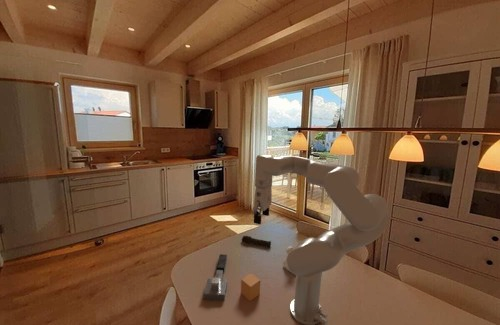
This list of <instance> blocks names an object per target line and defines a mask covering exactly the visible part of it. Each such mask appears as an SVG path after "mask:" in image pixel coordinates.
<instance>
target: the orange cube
mask: <svg viewBox="0 0 500 325" xmlns="http://www.w3.org/2000/svg"><path fill="white" fill-rule="evenodd" d="M240 283H241V284H240V294H241V295H242V296H244V297H245V298H246V299H247V300H248V301H249V302H251V301H253V300H254V299H255V298H256V297H257V296H259V295H260V294H261V279H260V278H259V277H257V276H256V275H255V274H253V273H249V274H247V275H245V277H243V278H241V281H240Z"/></svg>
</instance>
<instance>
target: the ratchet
mask: <svg viewBox="0 0 500 325" xmlns="http://www.w3.org/2000/svg"><path fill="white" fill-rule="evenodd" d="M227 259H228V255H227V254H222V253H221V254H219V256H218V259H217V263H216V270H215V271H216V273H215V276H214V277H211V278H207V279H206V280H207V281H206V283H205V288H204V291H203V294H202V295H203V301H218V302H219V301H222V302H223V301H225V299H226V294H227V293H226V292H227V288H228V279H226V278H225V279H223V277H224V273H225V271H226V266H227V265H226V264H227Z"/></svg>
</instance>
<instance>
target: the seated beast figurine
mask: <svg viewBox="0 0 500 325" xmlns="http://www.w3.org/2000/svg"><path fill="white" fill-rule="evenodd" d="M292 249H294V247H293V246H292V245H289V246H288V247H286V251H285V252H286V254H287V255H286V256H285V258H284V260H283V261H282V265H283V268H284V269H285V270H287V271H288V272H289V273H290V272H291V271H290V269H289V267H288V265H287V257H288V254H289V253H290V251H291V250H292ZM291 273H292V272H291ZM292 274H293V275H294V276H296V275H295V274H294V273H292Z"/></svg>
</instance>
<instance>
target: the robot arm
mask: <svg viewBox="0 0 500 325" xmlns="http://www.w3.org/2000/svg"><path fill="white" fill-rule="evenodd" d="M286 174H295V175H299V176H303V177H305V179H306V182H307V183H308V184H310V185H314V186H318V187H322V188H324V190H325V193H326V194H327V196H328V197H329V199H330V200H332V202H333V204H334V205H335V206H336V207H337V208H338V210H339V211H340V212H341V214H342V215H343V216H344V217H345V219H346V220H347V221H346V222H345V223H343V224H341V225H338V226H336V227H334V228H331V229H328V230H326V231H324V232H322V233H321V234H320V235H318V237H313V236H310V237H306V238H304V239H303V240H302V241H300V242H299V243H298V244H297V245H296V246H295V247H293V249H292V250H291V251H290V253H289V254H287V255H288V257H287V265H288V267H289V269H290V271H291V272H292V274H293V273H294V274H295V275H294V274H293V275H294V276H295V286H294V297H293V300H291V302H290V304H289V311H290V314H291V316H292V317H293V319H295V321H297V322H298V323H300V324H302V325H315V324H316V325H318V324H319V323H321V324H322V325H327V324H328V320H327V317H328V314H326V313H325V312H323V311H322V305H321V304H319V303H320V295H321V294H320V293H321V284H322V277H323V275H322V274H323V273H325V272H328V271H331V269H333V268H335V267H336V266H337V265H338V264H339V263H340V261H342V259H343V258H344V257H345V255H346V254H349V253H350V252H353V251H355V250H358V249H360V248H364V247H366V246H367V245H369V244H371V243H373V242H374V241H376V240H377V239H378V238H379V237H381V235H382V234H383V233H384V231H385V230H386V228H387V226H388V224H389V219H390V209H389V208H390V207H389V206H388V203H387V201H386V199H385V198H384V197H382V196H381V195H379V194H377V193H368V194H365V195H364V194H363V192H361V190H360V189H359V188H358V186H359V183H360V174H359V173H358V171H357V170H356V169H355V168H353V167H351V166H347V165H340V164H334V163H327V162H322V161H316V160H313V159H309V158H306V157H300V156H296V155H295V156H294V155H281V156H276V157H275V156H274V157H273V156H272V155H271V154H265V153H264V154H257V156H256V157H255V176H254V178H255V179H254V186H255V191H254V200H253V201H254V202H253V208H252V209H253V223H254V224H256V225H261V224H262V215H263V216H267V217H269V216H270V207H271V205H272V202H273V201H272V199H273V198H272V195H273V194H272V193H273V192H272V188H273V187H272V186H273V177H278V176H279V177H280V176H284V175H286ZM290 271H289V272H290ZM317 323H318V324H317Z"/></svg>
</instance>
